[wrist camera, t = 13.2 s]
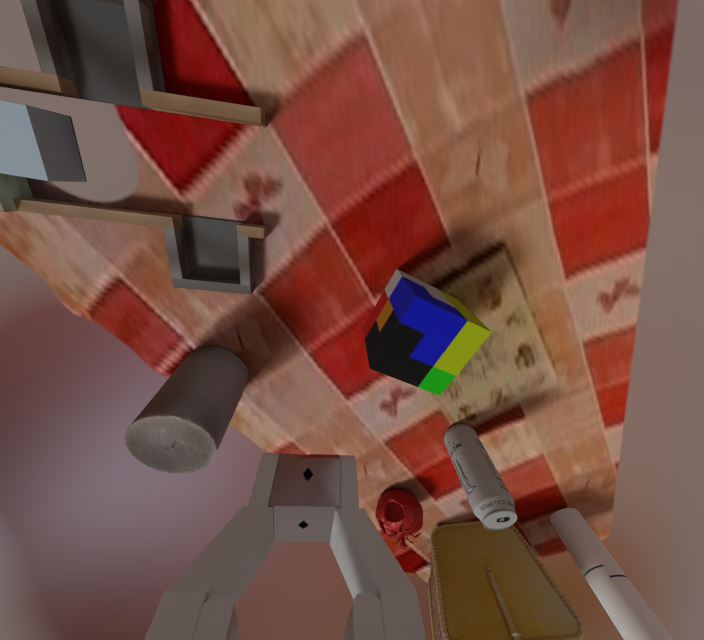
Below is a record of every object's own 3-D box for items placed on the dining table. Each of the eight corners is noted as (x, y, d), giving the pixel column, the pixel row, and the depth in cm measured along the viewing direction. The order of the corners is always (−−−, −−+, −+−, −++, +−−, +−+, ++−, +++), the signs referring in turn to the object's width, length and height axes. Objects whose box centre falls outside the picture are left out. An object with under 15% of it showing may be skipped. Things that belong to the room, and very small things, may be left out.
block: (4, 103, 27) (-55, 89, 23) (71, 116, 27) (25, 105, 23) (27, 171, 29) (-23, 169, 25) (86, 181, 30) (48, 181, 26)
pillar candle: (186, 390, 44) (122, 481, 30) (183, 340, 39) (107, 420, 26) (248, 398, 45) (212, 488, 32) (251, 350, 41) (212, 431, 28)
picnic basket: (504, 566, 78) (591, 766, 51) (416, 576, 78) (456, 780, 51) (523, 510, 65) (654, 739, 38) (417, 521, 65) (472, 758, 38)
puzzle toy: (396, 268, 36) (415, 296, 27) (456, 298, 39) (491, 332, 30) (362, 327, 40) (369, 368, 31) (418, 351, 42) (440, 395, 33)
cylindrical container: (575, 521, 68) (690, 685, 46) (547, 525, 68) (648, 690, 46) (581, 505, 65) (708, 673, 43) (551, 510, 65) (662, 679, 43)
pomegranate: (426, 490, 60) (441, 539, 51) (399, 513, 63) (410, 563, 55) (390, 478, 57) (400, 528, 48) (364, 503, 60) (370, 554, 52)
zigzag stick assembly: (-73, -47, 22) (-140, -85, 19) (264, 17, 25) (253, -7, 22) (50, 268, 34) (21, 277, 31) (268, 289, 37) (262, 299, 33)
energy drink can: (442, 423, 50) (481, 511, 37) (474, 419, 50) (525, 506, 36) (441, 445, 53) (476, 534, 39) (472, 441, 53) (518, 529, 39)
